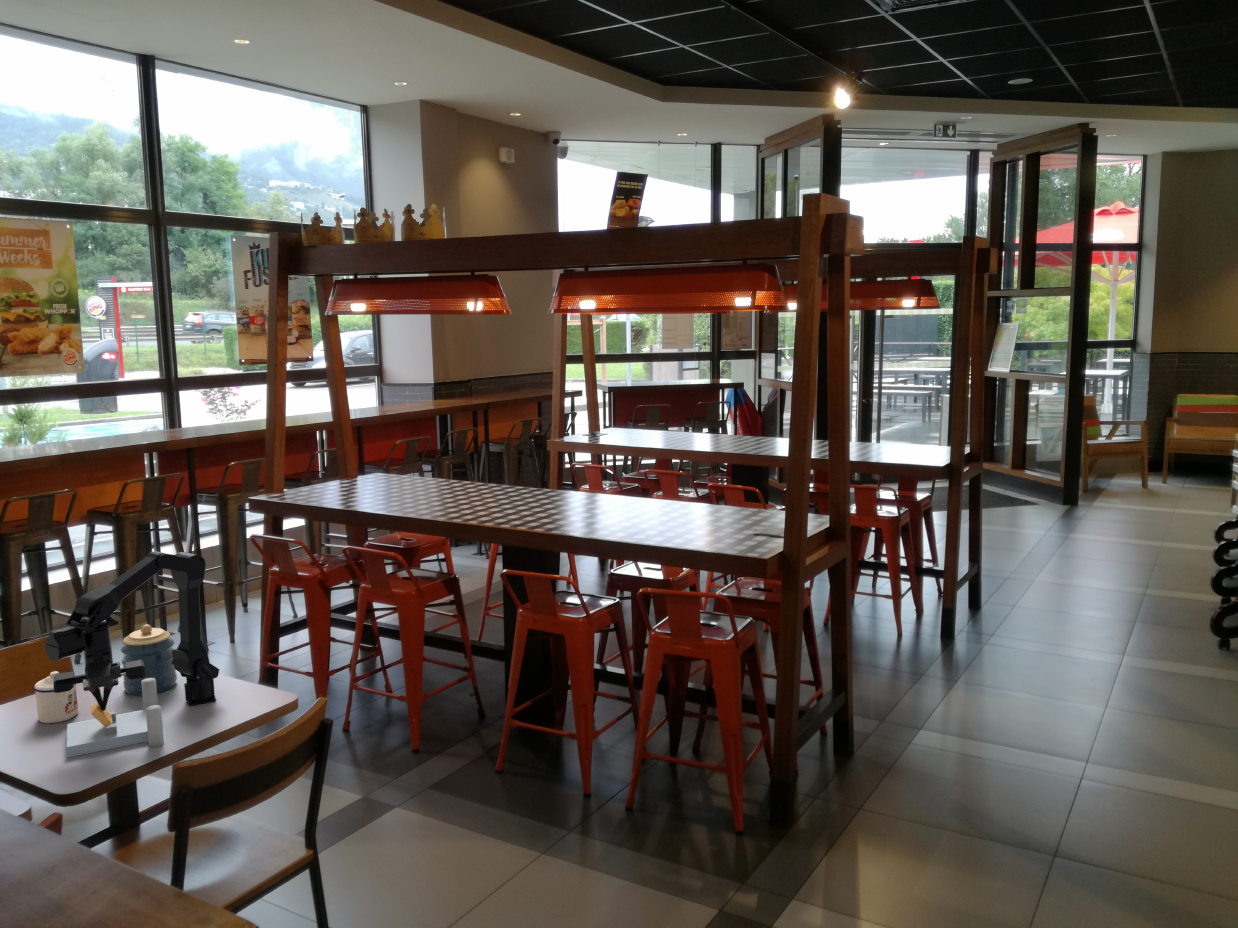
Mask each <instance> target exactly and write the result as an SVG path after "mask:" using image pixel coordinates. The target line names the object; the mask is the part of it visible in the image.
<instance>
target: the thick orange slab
mask: <svg viewBox="0 0 1238 928" xmlns="http://www.w3.org/2000/svg"><path fill="white" fill-rule="evenodd" d="M90 714H91V716H92V717H94V719H97V720H98V721H99V722H100V723H101V724H102V725H103V726H107V725H110V724H111V723H112V719H111V715H110V714H109V711H108V710H106V709H105V710H104V711H102V710H101V708H100V706H99V704H98V702H97V701H96V702H95V703H94V704H92V705H91V706H90Z"/></svg>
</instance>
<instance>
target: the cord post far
mask: <svg viewBox="0 0 1238 928" xmlns="http://www.w3.org/2000/svg"><path fill="white" fill-rule="evenodd" d="M141 683H142V695H141V696H142V706H143V710H145V709H146V708H147V707H149V706H152V705H159V704H158V703H159V702H158V693H157V690H156V679H155V678H147V679H144V680H142V681H141Z"/></svg>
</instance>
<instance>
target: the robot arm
mask: <svg viewBox="0 0 1238 928" xmlns="http://www.w3.org/2000/svg"><path fill="white" fill-rule="evenodd" d="M206 563H207V562H206V560H205V558H203V557H202V555H199V554H195V553H189V552H185V551H180V552H177V553H175V554H170V553H165V552H161V551H157V550H154V551H150V552H148V554H147V555H146V556H145V557H144V558H143V559H141V560H140V561H138V562H136V563H135V564H134V565H133V566H131V567H130V568H129V569H127V570H126V571H125V572H124V573H122V574H120V575H119V576H118V577H116V578H115V579H113V581H111V582H110V583H108V584H106V585H104V586H101V587H98V588H96V589H92V590H90V591H88V592H87V593H85V594H82V595H81V596H80V597H78V598H77V599H76V601H75V606H74V609H73V611H72V612H71V614H70V616H69V618H68V619H67V621H66V623H65V627H64V628H61V629H54V630H50V631H49V632H48V637H47V638H46V639H45V643H44V651H45V654H46V656H47V658H48V659H49V660H50V661H52V662H57V661H61V660H64V659H67V658H70V657H74V656H77V655H79V654H82V653H83V657H84V658H83V659H84V673H83V674H82V673H81V674H77V675H74V671H67V672H61V673H60V672H59V674H56V675H55V676H54V681H53V685H54V693H60V692H66V691H70V690H71V689H72V688H73V687H74V685H73V684H76V685H79V684H82V685H83V687H82V689H83V691H84V692H87V691H89V692H90V693H91V695H92V696H93V698H95V700H96V702H98V704H99V706H100V708H101V710H102V711H104V710H106V709H107V705H108V702H109V697H110V694H111V692H112V690H113V688H114V687H116V686H118V685H119V683H120V682H119V678H122V677H124V675H127V678H129V679H131V680H133V679H138V678H143V677H145V676H146V675H145V666H144V662H143V661H142V660H137V661H131V662H125V664H126V667H123V666H122V667H121V662H120V661H118V662H114V660H113V659H114V658H113V650H112V641H111V639H112V638H111V629H110V627H111V628H112V627H114V626H117V625H119V624H120V623H119V622H120V621H118V620H117V619H114V618H113V617H112V615H113V614H114V613H115V612H116V611H117V609H118V608H119V607H120V604H121V602H122V601H123V600H124V599H125V598H126V597H127V596H129V595H130V594H132V592H134V591H136V589H138V588H139V587H140V586H142V585H143V584H145V583H146V582H147V581H149V580H150V579H151V578H152V577H154V576H155V575H157V574H158V573H159V572H160V571H162V570H170V572H171V577H172V580H173V581H174V583H175V584H176V587H177V589H178V590H177V592H178V610H179V612H178V613H179V616H178V617H179V635H180V636H179V638H180V642H179V644H178V646H177V648H173V650H172V656H173V660H172V664H173V665H174V667H175V669H176V672H178V673H180V676H181V677H182V678H185V681H186V682H185V683H184V684H183V685H184V698H185V702H188V706H195V705H200V704H201V705H202V704H204V703H210V702H215V700H216V701H217V698H216V694H215V682H214V681H215V680H214V679H216V678H218V677H219V673H220V669H219V668H218V667H217V666H215V665H213V664H212V663H210V658H209V653H208V650H207V648H206V647H205V645H204V643H203V641H202V627H201V626H202V625H201V602H200V601H201V600H200V586H201V584H202V583H203V581H204V579H205V577H206V576H205V574H206V567H207V564H206ZM83 619H84V620H86V621H83ZM101 688H103V691H102V692H101Z"/></svg>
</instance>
